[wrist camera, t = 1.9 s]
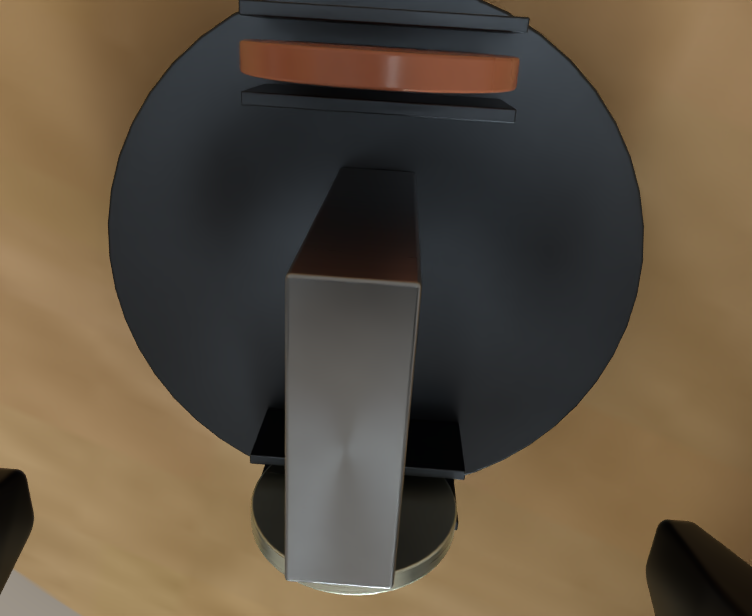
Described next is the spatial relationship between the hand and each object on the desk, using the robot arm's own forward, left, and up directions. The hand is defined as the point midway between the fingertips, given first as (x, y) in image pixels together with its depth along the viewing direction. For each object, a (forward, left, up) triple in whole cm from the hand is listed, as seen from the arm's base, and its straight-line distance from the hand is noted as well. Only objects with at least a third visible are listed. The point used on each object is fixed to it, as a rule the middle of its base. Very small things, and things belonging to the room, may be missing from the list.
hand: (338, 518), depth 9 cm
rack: (0, 0, -12) cm, 12 cm away
